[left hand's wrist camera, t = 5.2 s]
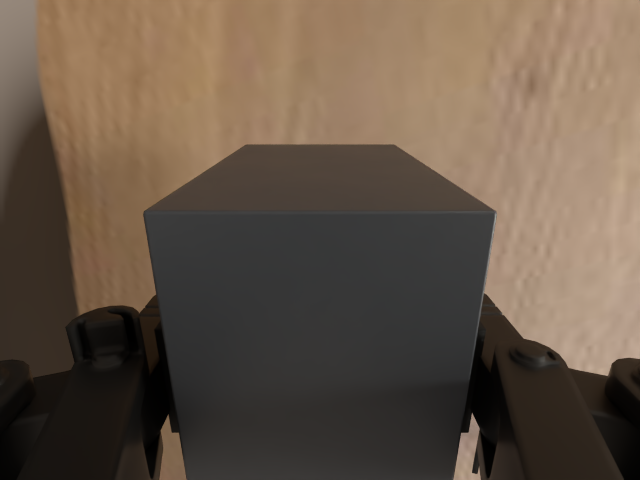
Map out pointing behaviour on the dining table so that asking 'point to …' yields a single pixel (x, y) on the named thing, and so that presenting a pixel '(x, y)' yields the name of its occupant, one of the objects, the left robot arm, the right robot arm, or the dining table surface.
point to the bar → (320, 313)
